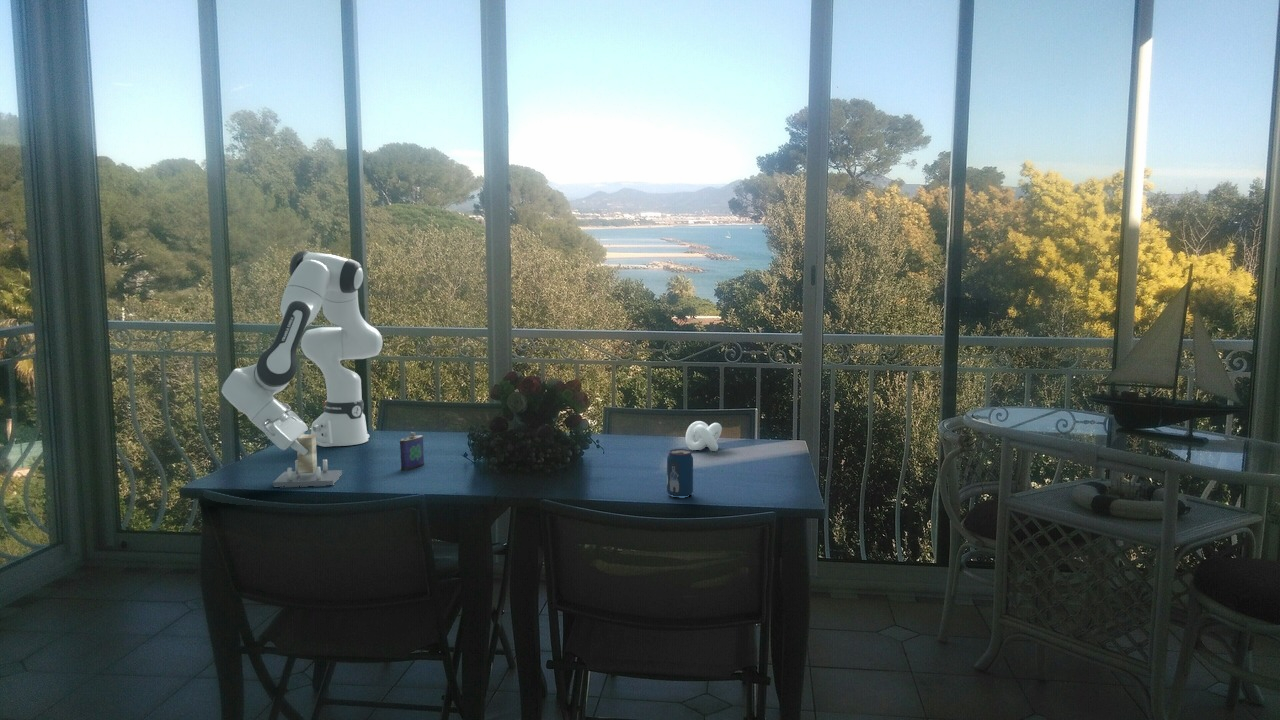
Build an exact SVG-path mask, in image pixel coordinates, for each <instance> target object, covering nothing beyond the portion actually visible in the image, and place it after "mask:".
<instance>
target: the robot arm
mask: <svg viewBox="0 0 1280 720" xmlns="http://www.w3.org/2000/svg"><path fill="white" fill-rule="evenodd" d="M288 271H289V272H288V273H289V276H290V278H289V280H288V282H287V284H286V287H285V290H284V291H283V294H282V298H281V303H280V307H279V308H280V309H279V311H280V313H281V315H282V320H281V323H280V325H279V328H278V331H277V334H276V335H275V338H274V341H273V343H272V344H271V346H269V348H268V349H266V350H265V351H264V352H263V353H262V354H261V355H260V356H259V358H258V360H257V363H254V364H252V365H249V366H244V367H237V368H234V369H232V370H231V371H230V372H229V373H228V374H227V376H226V377H225V378H224V380H223V381H222V383H221V387H220V391H221V394H222V395H223V397H224V398H225V399H226V401H228V402H229V403H230V404H231V405H232V406H233V407H234V408H235V409H236V410H238V411H239V412H241V413H242V414H244V415H245V416H247V418H248V420H249V421H250V422H251V423H253V424H254V426H256V427H257V428H258V429H259V430H260V431H262V433H264V435H265V436H266V437H267V438H268V439H269V440H270V441H271V442H272V443H273V444H274V445H275V446H276V447H278V448H279V449H280V450H282V451H286V450H287V449H288V448H289V447H291V449H292V450H294V451H296V452H297V451H298V452H300V453H301V454H302V455H305V454H306V453H307V452H308V451H309V450H308V449H307V448H306V447H305V446H302V445H301V444H300V443H299V442H298V441H297V438H298V437H299V436H301V435H302V434H305V433H306V431H308V429H309V427H308V426H307V423H305V421H304V420H303V419H301V418H300V417H299V415H298V414H296V413H295V412H294V411H293V410H292V407H291V406H290V405H289V404H288V403H286V402H281V401H279V400H278V399H276V398H275V397H274V396H275V395H276V394H278V393H280V392H282V391H283V390H285V389H286V388H287V387H288V384H289V383H290V382H291V380H292V379H293V378H294V377H295V376H296V373H297V367H298V366H297V365H298V364H297V355H296V354H297V350H298V347H299V345H300V347H301V351H302V353H303V354H304V355H305V357H306V358H307V359H308V360H311V361H312V362H313V363H314V364H315V365H317V366H318V368H319V369H320V371H321V372H322V375H323V377H324V381H325V387H326V388H325V389H326V397H327V398H326V401H325V402H321V403H322V405H321V406H322V407H324V409H323V413H321V414H320V416H318V417H317V418H316V419H315V420H314V421H313V422H312V423H311V427H310V428H311V430H310V434H316V446H320V447H322V448H323V447H324V448H326V447H329V448H330V447H342V446H343V447H345V446H354V445H361V444H365V443H367V442H369V438H370V434H369V433H368V430H367V429H368V427H367V422H366V421H367V420H366V415H365V413H364V410H365V409H364V405H365V404H364V399H363V397H362V394H363V393H362V378H361V376H360V375H359V374H358V373H357V372H355V371H353V370H351V369H348V368H346V367H345V366H343V365H342V363H341V361H343V360H364V359H368V358H373V357H376V356H378V355H379V354H380V352H381V350H382V348H383V341H384V340H383V336H382V334H381V332H380V331H379V330H378V329H377V328H376V327H373V326H371V325H370V324H369V323H368V322H367V321H366V320H365V319H364V318H363V316H362V314H361V311H360V305H359V292H358V290H360V288H361V286H362V284H363V280H364V268H363V266H362V265H361V263H360V262H359V261H356V260H354V259H351V258H345V257H343V256H339V255H335V254H331V253H322V252H312V251H311V250H300V251H297V252H296V253H295V254H294V255H293V256H292V257H291V259H290V262H289V269H288ZM321 308H322V313H323V316H324V317H325V319H327V321H329V322H330V323H332V324H333V325H336V326H323V327H322V326H321V327H316V328H311V329H307V330H306V331H305V329H306V327H307V326H308V325H309V324H311V323H313V322H314V320H315V318H316V317H317V316H318V314H319V312H320V310H321ZM304 331H305V332H304Z"/></svg>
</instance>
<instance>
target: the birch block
mask: <svg viewBox="0 0 1280 720" xmlns="http://www.w3.org/2000/svg"><path fill="white" fill-rule="evenodd" d="M297 441H298V442H299V443H300V444H301V445H302V446H305V447H306V448H307V449H308V450H309V451H308V452H307V453H306V454H305V455H302V454H301V453H300V452H298V451H296V452H297V454H296V455H297V460H298V473H314V472H315V471H316V467H318V459H317V454H318V453H317V445H316V434H311V433H310V434H308V433H307V434H305V433H304V434H302V435H301V436H299V437H298V438H297Z"/></svg>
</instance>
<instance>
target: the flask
mask: <svg viewBox="0 0 1280 720" xmlns="http://www.w3.org/2000/svg"><path fill="white" fill-rule="evenodd" d="M409 433H410V435H409V436H406V437H403V438H401V439H400V440H399V449H400V465H401V466H400V468H401V469H400V470H401V471H410V470H414V469H416V468H418V467H421V465H422V466H424V465H425V451H424V450H425V449H424V448H425V447H424V436H423V435H421V434H420V435H419V434H418V435H416V432H413V431H410V432H409ZM409 469H410V470H409Z"/></svg>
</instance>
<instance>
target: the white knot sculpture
mask: <svg viewBox="0 0 1280 720" xmlns="http://www.w3.org/2000/svg"><path fill="white" fill-rule="evenodd" d="M722 430H723V428H722V425H721V424H720V423H718V422H713V423H711V424H710V425H708V423H706V422H705V421H701V420H696V421H694V422H692V423H690V425H689V426H688V427H687V429H686V432H685V444H686V446H687V448H688V450H690V451H693V450H700V451H701V450H703V449H706V448H705V447H707V446H708V449H709V451H711V452H712V451H715V452H718V450H719V445H718V443H717V441H718V439H719V438H720V436H721V434H722Z"/></svg>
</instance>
